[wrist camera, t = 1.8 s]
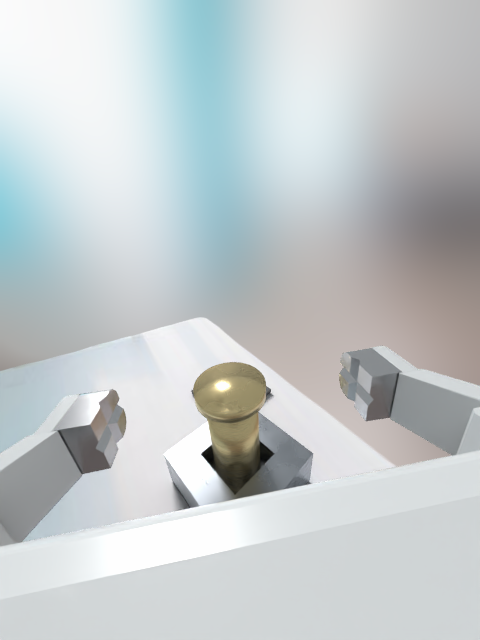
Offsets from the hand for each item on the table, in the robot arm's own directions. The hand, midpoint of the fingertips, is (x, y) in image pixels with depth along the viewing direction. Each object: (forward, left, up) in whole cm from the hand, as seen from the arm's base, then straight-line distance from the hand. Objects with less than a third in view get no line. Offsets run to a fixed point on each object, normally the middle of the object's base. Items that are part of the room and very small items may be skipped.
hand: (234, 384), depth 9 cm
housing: (+6, +9, -25) cm, 27 cm away
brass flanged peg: (+6, +9, -23) cm, 25 cm away
